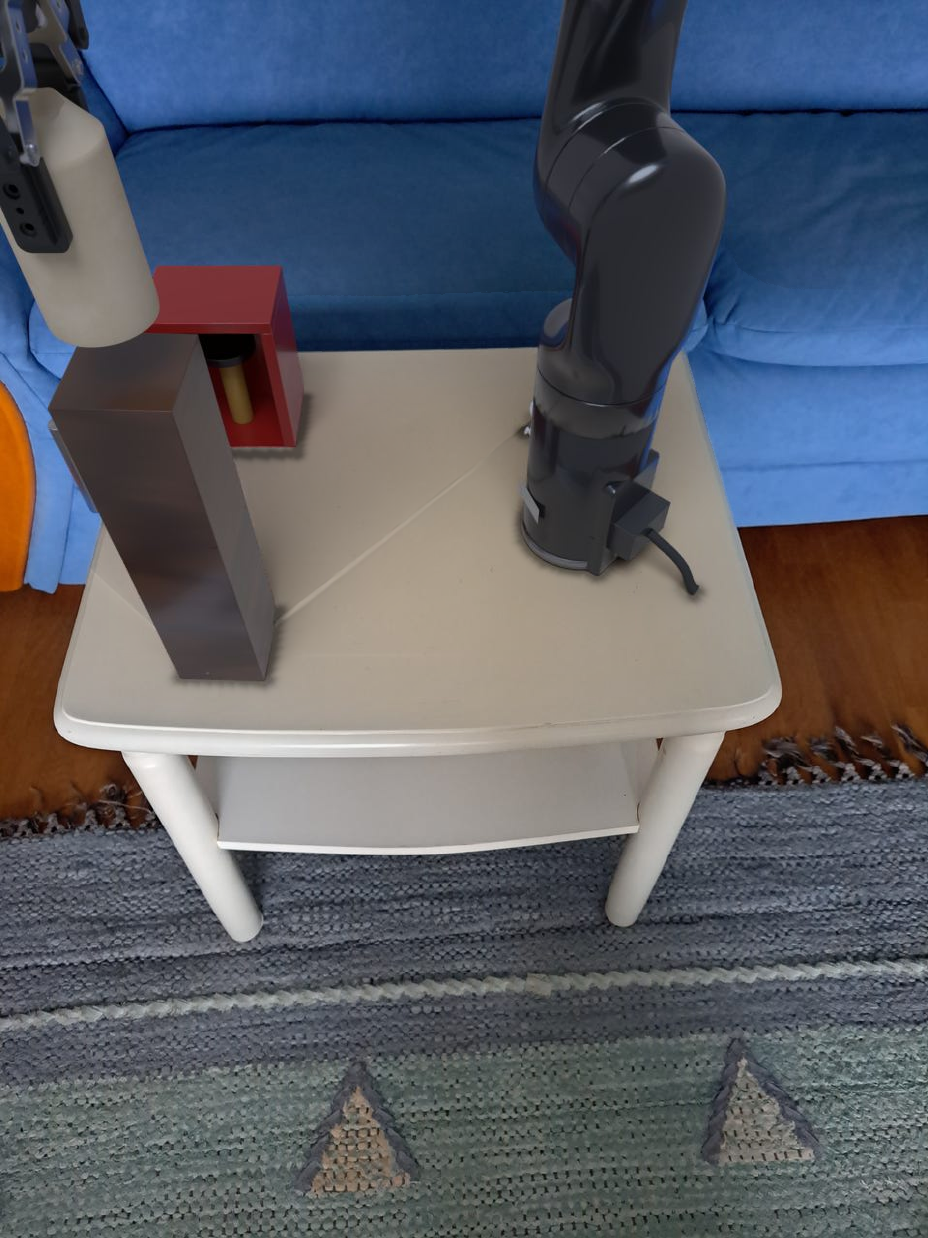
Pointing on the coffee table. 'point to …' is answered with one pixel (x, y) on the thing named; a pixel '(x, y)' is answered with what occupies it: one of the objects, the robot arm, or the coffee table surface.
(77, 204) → the candle
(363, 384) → the coffee table surface
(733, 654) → the coffee table surface
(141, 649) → the coffee table surface
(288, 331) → the cabinet
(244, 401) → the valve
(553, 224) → the robot arm
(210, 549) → the plinth
